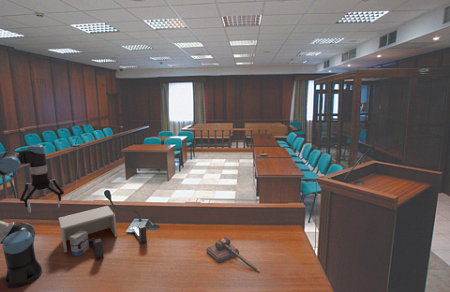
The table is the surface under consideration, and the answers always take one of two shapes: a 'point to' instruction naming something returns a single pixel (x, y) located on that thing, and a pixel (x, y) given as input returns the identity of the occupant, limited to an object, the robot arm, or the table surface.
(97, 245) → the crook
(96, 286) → the table surface
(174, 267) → the table surface
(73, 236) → the ink box
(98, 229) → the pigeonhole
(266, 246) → the table surface
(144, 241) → the plain bar
